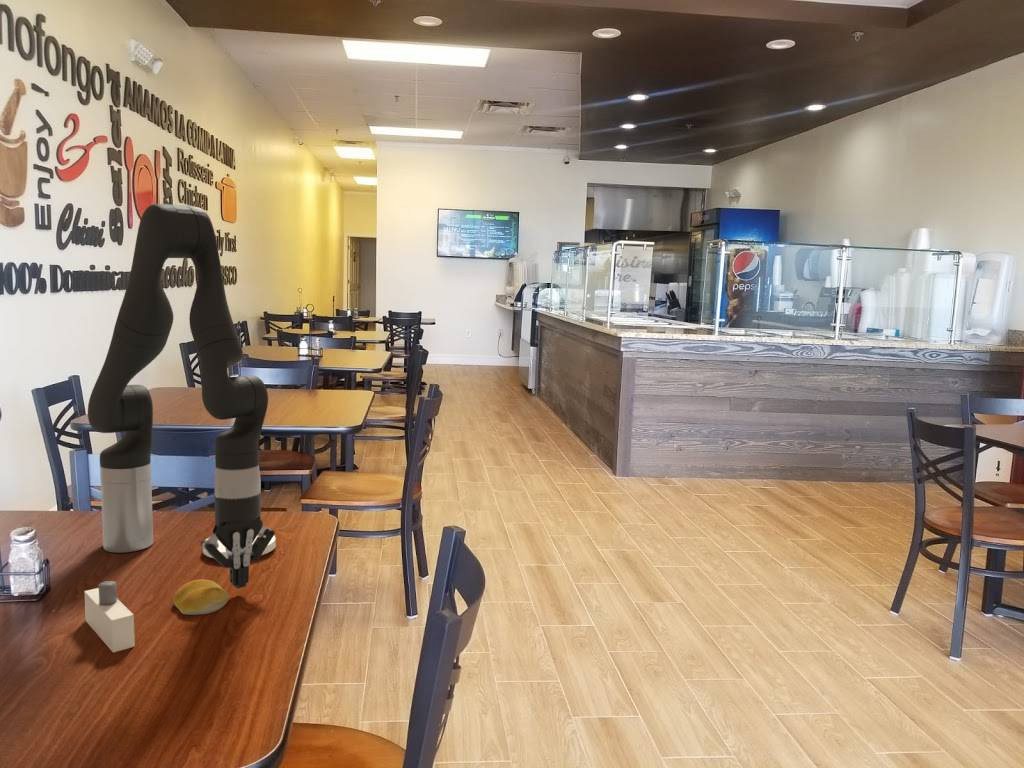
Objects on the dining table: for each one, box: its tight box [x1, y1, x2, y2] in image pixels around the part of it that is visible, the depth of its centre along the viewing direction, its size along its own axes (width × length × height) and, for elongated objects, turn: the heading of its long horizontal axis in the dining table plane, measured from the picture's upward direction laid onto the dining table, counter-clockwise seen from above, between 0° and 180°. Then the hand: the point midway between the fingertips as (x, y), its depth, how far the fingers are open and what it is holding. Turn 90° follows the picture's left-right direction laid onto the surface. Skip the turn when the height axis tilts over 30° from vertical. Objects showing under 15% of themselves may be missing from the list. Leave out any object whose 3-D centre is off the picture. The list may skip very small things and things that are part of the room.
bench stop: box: [83, 580, 136, 653], centre depth 118 cm, size 14×3×8 cm, turn 44°
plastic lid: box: [202, 535, 277, 559], centre depth 156 cm, size 14×14×2 cm
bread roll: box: [172, 578, 229, 616], centre depth 129 cm, size 8×9×4 cm
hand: (239, 586), depth 134 cm, fingers closed
